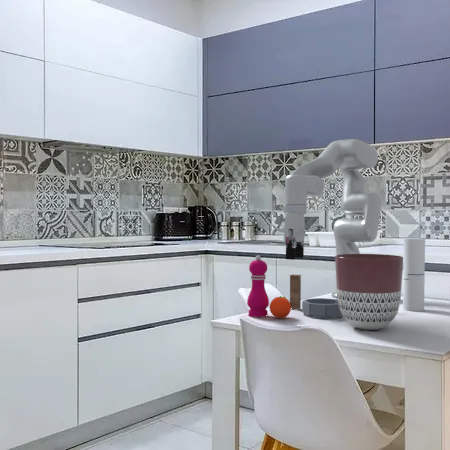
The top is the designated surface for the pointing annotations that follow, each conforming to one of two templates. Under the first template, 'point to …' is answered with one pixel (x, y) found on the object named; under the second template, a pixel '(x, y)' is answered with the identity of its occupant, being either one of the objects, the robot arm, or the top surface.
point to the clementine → (280, 307)
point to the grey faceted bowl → (321, 308)
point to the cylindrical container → (413, 274)
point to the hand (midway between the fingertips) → (294, 258)
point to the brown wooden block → (295, 291)
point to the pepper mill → (258, 289)
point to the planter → (368, 288)
